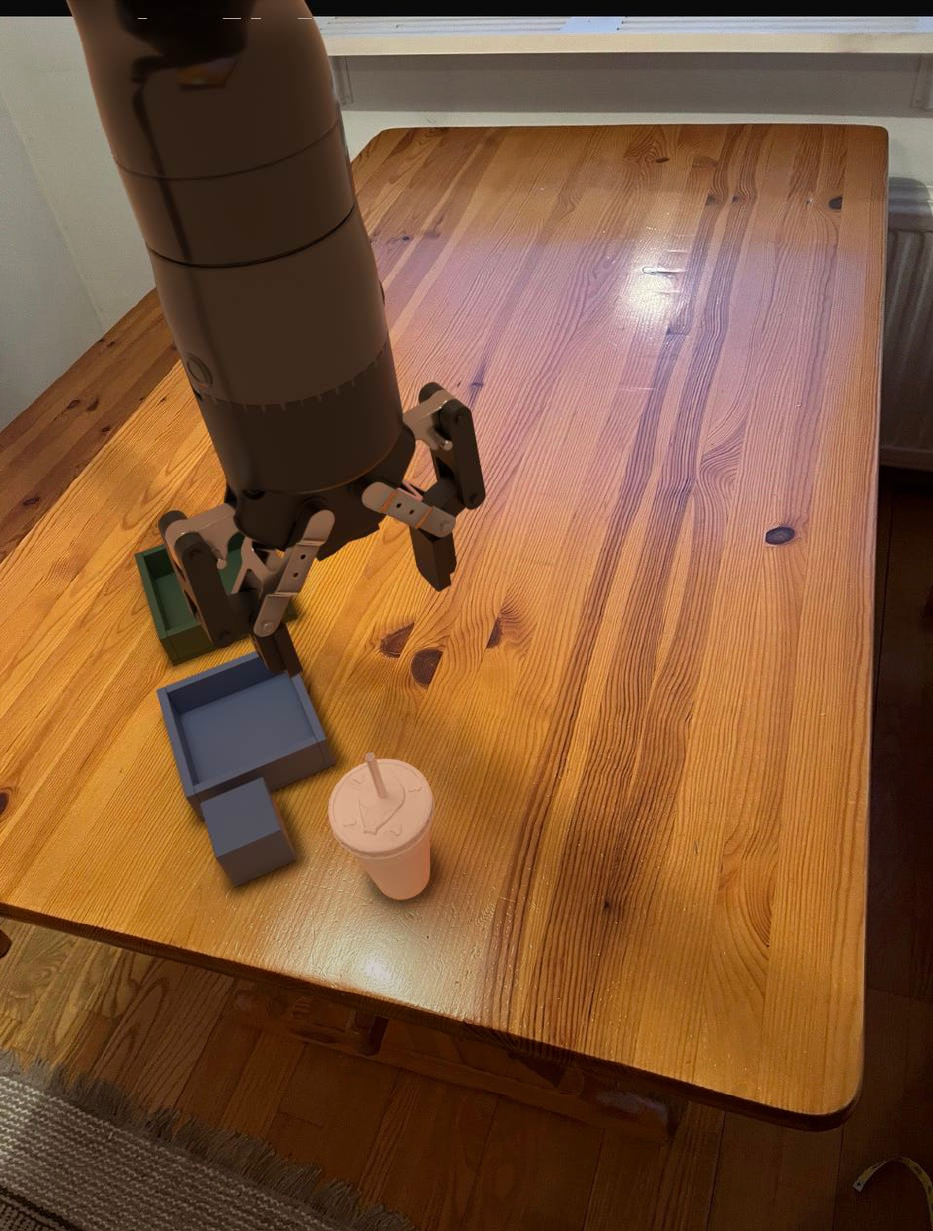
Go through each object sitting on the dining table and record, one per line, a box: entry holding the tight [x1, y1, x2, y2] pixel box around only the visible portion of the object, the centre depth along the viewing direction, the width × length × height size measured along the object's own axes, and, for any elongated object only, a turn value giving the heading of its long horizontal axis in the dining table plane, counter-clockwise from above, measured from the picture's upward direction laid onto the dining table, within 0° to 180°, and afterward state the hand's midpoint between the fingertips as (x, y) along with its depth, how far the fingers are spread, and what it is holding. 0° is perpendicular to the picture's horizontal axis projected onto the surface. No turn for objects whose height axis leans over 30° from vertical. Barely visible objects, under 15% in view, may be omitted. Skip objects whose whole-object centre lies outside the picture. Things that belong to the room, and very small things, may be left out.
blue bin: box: [155, 650, 337, 822], centre depth 70 cm, size 10×10×4 cm
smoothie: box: [327, 752, 436, 901], centre depth 58 cm, size 6×6×14 cm
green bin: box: [133, 531, 299, 667], centre depth 80 cm, size 11×11×4 cm
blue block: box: [200, 777, 298, 888], centre depth 64 cm, size 4×4×4 cm
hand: (363, 621), depth 46 cm, fingers open, 8 cm apart
